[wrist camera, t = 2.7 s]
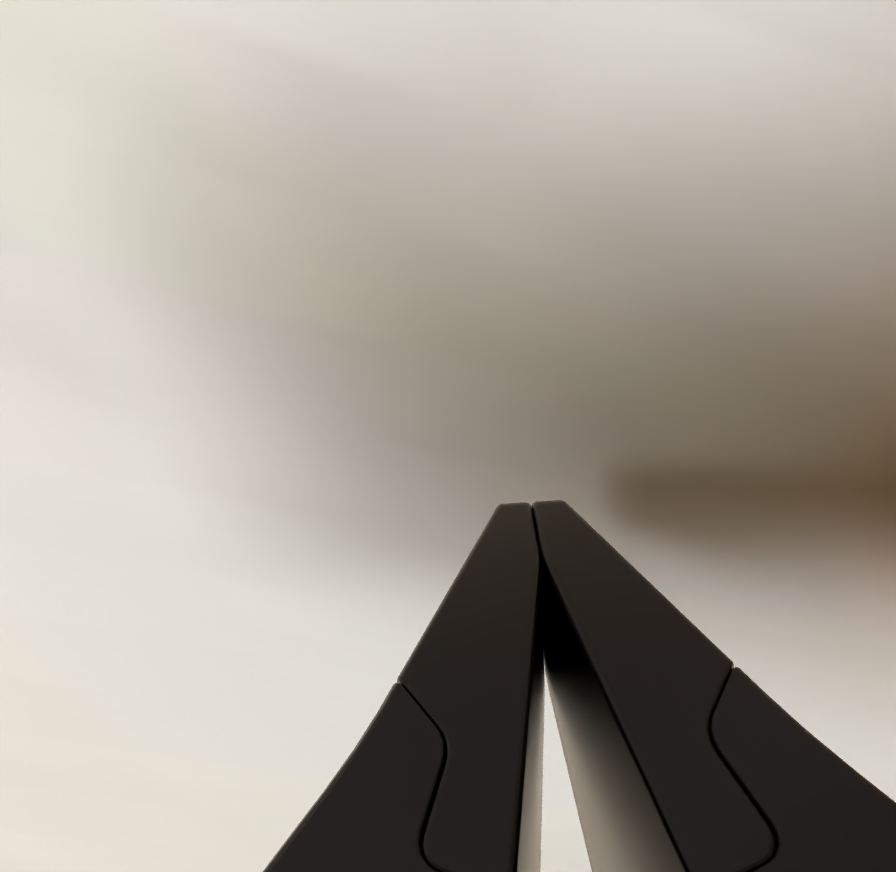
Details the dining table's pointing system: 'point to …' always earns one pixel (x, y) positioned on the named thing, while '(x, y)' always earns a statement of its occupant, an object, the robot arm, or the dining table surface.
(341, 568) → the dining table surface
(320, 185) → the dining table surface
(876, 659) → the dining table surface
